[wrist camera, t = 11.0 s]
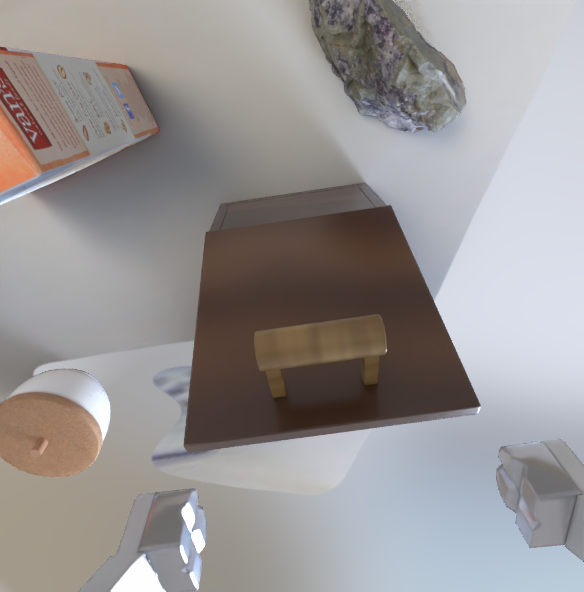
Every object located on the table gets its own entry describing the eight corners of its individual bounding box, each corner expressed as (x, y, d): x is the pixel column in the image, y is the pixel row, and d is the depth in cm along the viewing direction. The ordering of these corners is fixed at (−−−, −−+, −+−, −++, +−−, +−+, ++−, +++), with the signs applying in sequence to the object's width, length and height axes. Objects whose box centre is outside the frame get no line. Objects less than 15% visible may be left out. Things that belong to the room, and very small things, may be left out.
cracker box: (125, 58, 34) (-53, 29, 15) (163, 132, 37) (50, 182, 18) (-18, 129, 36) (-330, 178, 17) (28, 194, 39) (-201, 298, 20)
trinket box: (77, 335, 46) (33, 392, 37) (142, 400, 50) (116, 464, 42) (6, 378, 48) (-51, 441, 39) (74, 437, 52) (36, 505, 44)
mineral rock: (299, -22, 32) (310, -62, 23) (439, -65, 31) (506, -124, 22) (334, 149, 38) (353, 170, 29) (453, 116, 37) (510, 127, 28)
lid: (478, 414, 20) (504, 348, 16) (188, 453, 20) (149, 397, 16) (390, 213, 31) (394, 149, 28) (208, 240, 32) (188, 179, 28)
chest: (373, 325, 47) (394, 375, 39) (250, 342, 47) (246, 395, 39) (365, 182, 39) (389, 207, 31) (220, 203, 40) (207, 234, 32)
